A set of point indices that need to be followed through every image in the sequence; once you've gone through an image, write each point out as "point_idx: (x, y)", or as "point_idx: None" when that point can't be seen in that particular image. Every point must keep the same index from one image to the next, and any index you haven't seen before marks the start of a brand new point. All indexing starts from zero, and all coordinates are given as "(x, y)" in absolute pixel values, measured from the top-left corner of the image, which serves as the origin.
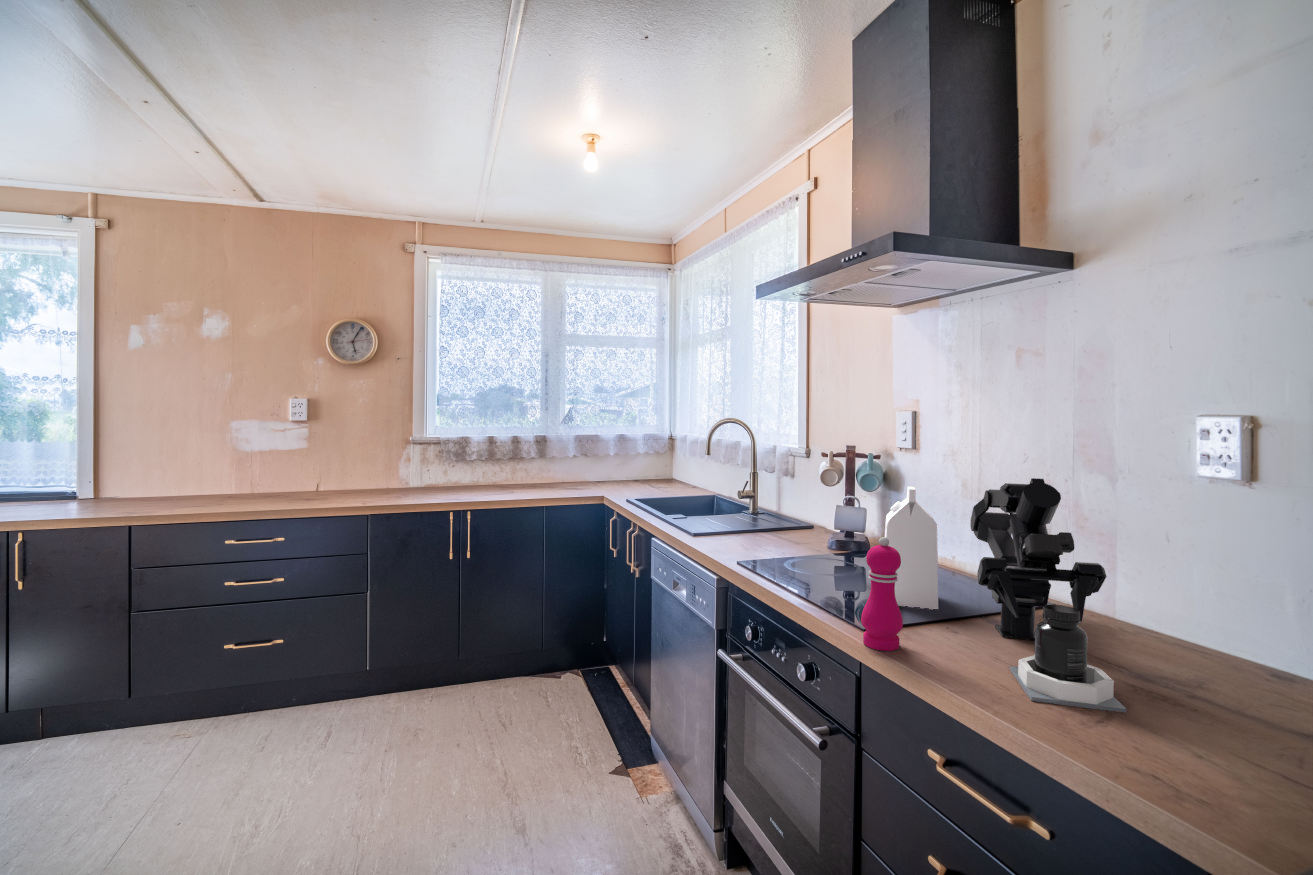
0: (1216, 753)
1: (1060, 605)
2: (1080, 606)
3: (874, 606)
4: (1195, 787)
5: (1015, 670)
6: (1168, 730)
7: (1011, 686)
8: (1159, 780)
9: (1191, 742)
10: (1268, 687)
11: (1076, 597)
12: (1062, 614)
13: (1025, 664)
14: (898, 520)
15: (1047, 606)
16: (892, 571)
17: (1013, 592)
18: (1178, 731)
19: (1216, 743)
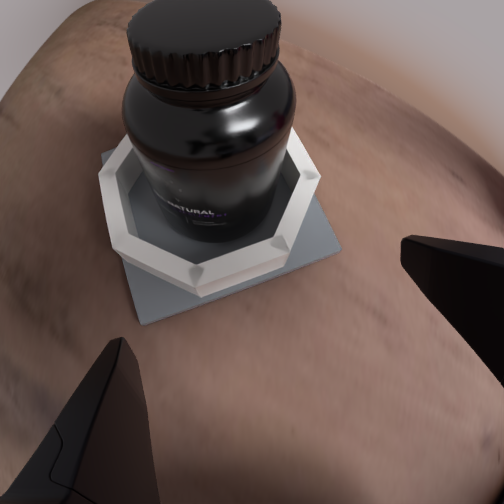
0: (35, 113)
1: (205, 46)
2: (93, 386)
3: None
4: (95, 36)
5: (323, 225)
6: (61, 138)
7: (308, 150)
8: (124, 27)
9: (48, 121)
10: None
11: (105, 465)
12: None
13: (297, 151)
14: None
15: (263, 14)
16: None
17: (502, 263)
18: (49, 145)
19: (20, 142)
